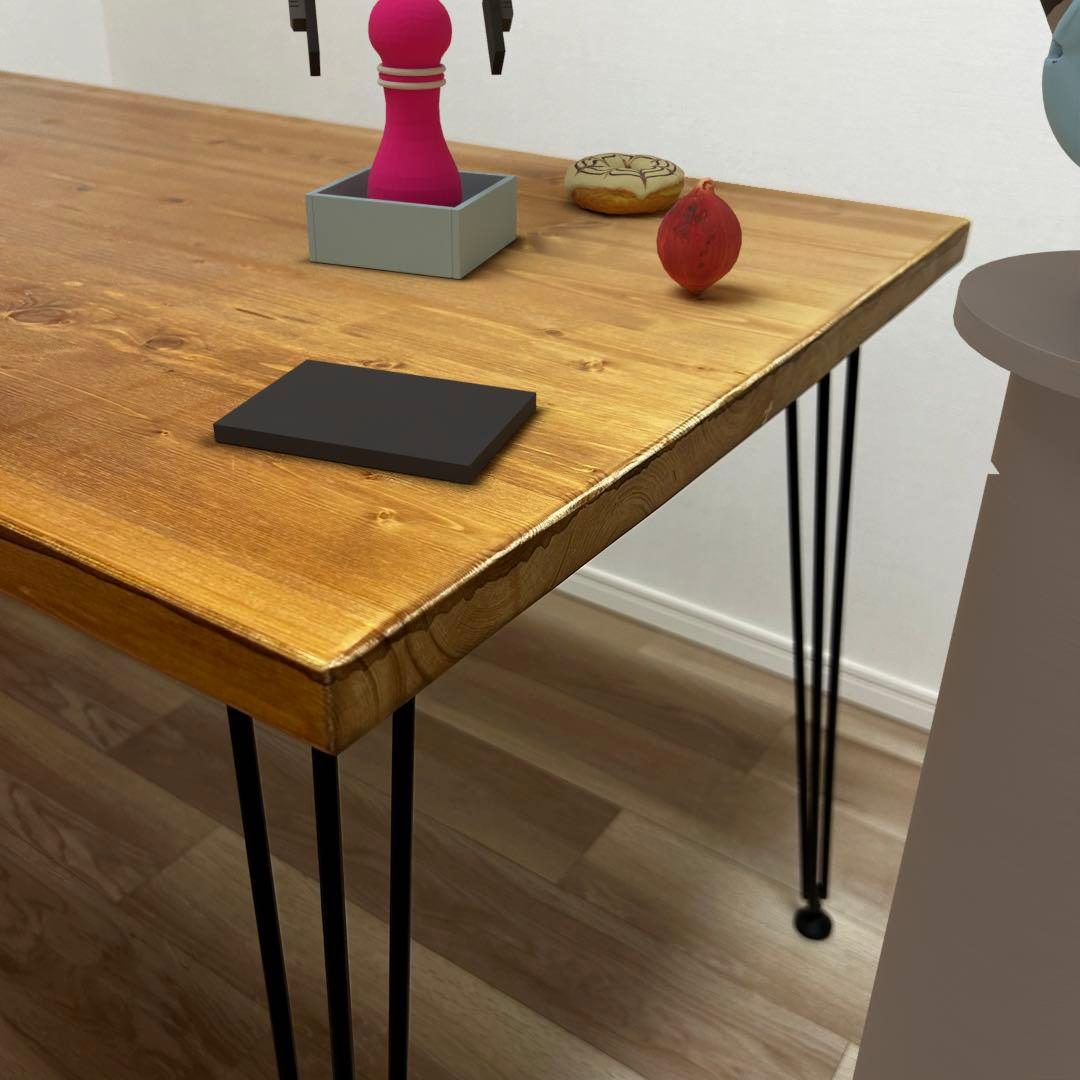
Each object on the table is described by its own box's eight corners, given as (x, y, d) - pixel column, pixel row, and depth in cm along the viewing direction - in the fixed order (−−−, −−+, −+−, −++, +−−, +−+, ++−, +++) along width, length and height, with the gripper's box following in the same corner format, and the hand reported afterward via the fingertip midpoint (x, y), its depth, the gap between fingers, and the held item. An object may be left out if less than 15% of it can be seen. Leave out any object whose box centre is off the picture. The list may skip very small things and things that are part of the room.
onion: (709, 312, 81) (719, 192, 77) (637, 295, 84) (644, 179, 80) (750, 292, 85) (762, 177, 81) (680, 277, 88) (689, 165, 84)
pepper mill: (453, 235, 97) (449, -38, 87) (471, 259, 91) (469, -31, 81) (364, 239, 95) (350, -38, 86) (377, 264, 89) (363, -31, 79)
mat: (536, 409, 66) (536, 391, 65) (469, 484, 57) (469, 465, 57) (308, 375, 69) (307, 358, 69) (214, 441, 61) (212, 423, 60)
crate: (516, 238, 97) (517, 175, 94) (460, 279, 86) (459, 209, 84) (379, 223, 100) (376, 162, 97) (309, 261, 90) (304, 193, 87)
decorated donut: (545, 209, 105) (545, 165, 103) (593, 185, 114) (594, 144, 112) (655, 223, 101) (658, 178, 100) (696, 198, 110) (700, 155, 108)
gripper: (530, -124, 100) (563, 94, 94) (224, -131, 95) (239, 97, 90) (544, -202, 93) (581, 29, 87) (214, -214, 88) (230, 29, 83)
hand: (408, 64), depth 88 cm, fingers open, 13 cm apart
